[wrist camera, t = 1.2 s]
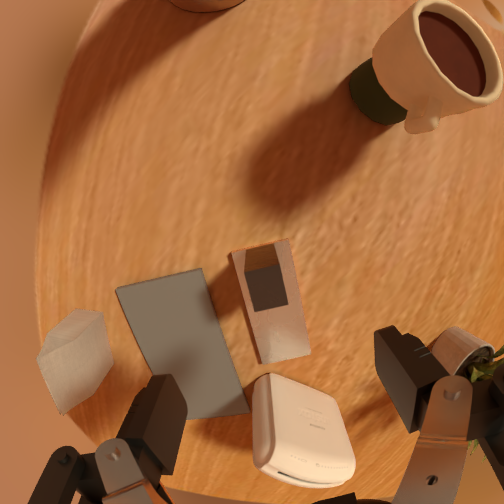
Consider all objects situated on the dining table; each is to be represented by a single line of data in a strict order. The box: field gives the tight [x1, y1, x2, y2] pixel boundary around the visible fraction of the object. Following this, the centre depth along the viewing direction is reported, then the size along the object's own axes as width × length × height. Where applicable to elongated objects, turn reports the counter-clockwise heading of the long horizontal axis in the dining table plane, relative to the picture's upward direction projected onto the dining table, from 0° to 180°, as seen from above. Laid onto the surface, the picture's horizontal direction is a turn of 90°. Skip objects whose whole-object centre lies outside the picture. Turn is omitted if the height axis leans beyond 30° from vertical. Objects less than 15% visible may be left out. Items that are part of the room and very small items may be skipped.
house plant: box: [432, 327, 504, 462], centre depth 21 cm, size 14×14×16 cm
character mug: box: [349, 0, 503, 134], centre depth 15 cm, size 11×7×13 cm, turn 161°
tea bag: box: [36, 309, 114, 415], centre depth 23 cm, size 4×7×10 cm, turn 179°
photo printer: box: [252, 373, 355, 488], centre depth 24 cm, size 10×4×12 cm, turn 58°
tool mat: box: [115, 268, 250, 420], centre depth 28 cm, size 18×9×1 cm, turn 14°
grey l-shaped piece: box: [231, 238, 311, 364], centre depth 24 cm, size 12×5×7 cm, turn 14°
